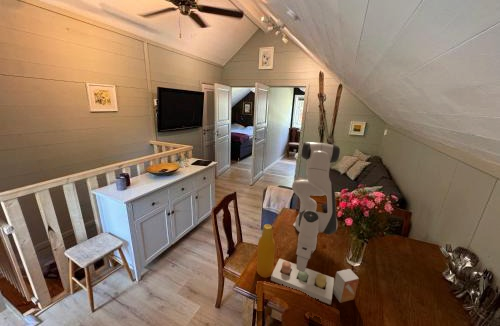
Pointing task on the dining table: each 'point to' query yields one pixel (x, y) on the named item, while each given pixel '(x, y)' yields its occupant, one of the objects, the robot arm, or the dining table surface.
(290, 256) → the dining table surface
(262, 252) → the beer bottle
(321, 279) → the mustard button
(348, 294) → the small box
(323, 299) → the board
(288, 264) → the terracotta button
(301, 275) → the green button
